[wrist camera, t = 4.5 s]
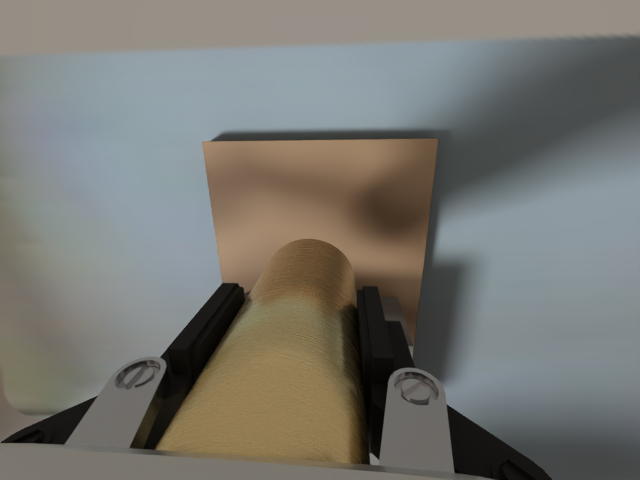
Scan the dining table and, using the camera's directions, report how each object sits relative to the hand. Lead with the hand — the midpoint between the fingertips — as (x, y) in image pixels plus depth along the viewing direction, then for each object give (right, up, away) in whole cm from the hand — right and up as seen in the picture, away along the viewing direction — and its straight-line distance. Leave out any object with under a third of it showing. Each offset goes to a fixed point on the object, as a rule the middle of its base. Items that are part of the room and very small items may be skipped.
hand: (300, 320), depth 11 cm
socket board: (+1, -1, +11) cm, 11 cm away
